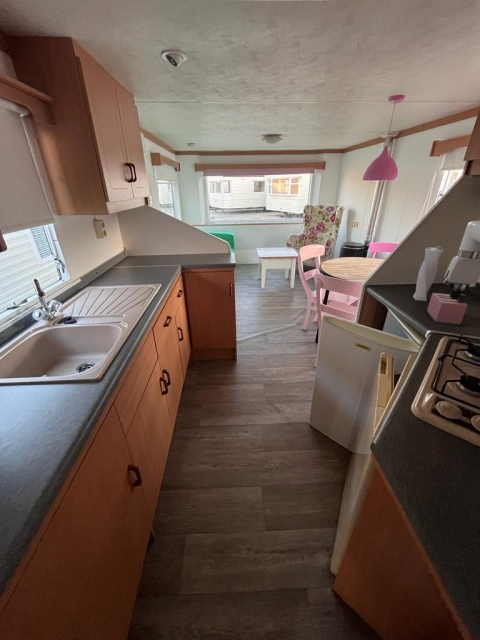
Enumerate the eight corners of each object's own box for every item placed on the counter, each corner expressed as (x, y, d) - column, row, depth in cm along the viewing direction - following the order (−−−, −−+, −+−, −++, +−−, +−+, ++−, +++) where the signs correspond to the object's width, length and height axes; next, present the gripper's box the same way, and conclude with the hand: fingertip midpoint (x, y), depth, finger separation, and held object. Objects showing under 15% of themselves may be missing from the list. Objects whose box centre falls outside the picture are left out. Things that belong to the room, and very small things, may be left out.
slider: (462, 301, 111) (465, 294, 110) (464, 302, 110) (467, 295, 108) (456, 300, 112) (458, 293, 111) (458, 302, 110) (460, 295, 109)
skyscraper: (430, 302, 136) (448, 246, 124) (413, 300, 138) (429, 245, 126) (425, 297, 143) (441, 243, 131) (409, 295, 145) (424, 243, 133)
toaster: (449, 313, 123) (455, 294, 119) (460, 325, 112) (468, 305, 108) (426, 310, 126) (432, 292, 122) (435, 322, 114) (441, 302, 110)
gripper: (488, 254, 105) (471, 297, 112) (443, 251, 109) (430, 294, 117) (498, 257, 98) (479, 303, 106) (450, 255, 102) (435, 299, 110)
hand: (453, 298), depth 111 cm, fingers closed
